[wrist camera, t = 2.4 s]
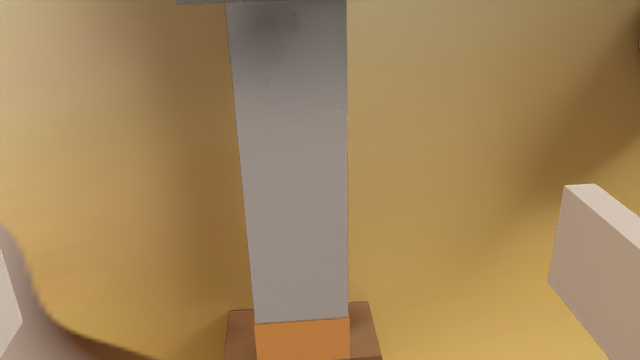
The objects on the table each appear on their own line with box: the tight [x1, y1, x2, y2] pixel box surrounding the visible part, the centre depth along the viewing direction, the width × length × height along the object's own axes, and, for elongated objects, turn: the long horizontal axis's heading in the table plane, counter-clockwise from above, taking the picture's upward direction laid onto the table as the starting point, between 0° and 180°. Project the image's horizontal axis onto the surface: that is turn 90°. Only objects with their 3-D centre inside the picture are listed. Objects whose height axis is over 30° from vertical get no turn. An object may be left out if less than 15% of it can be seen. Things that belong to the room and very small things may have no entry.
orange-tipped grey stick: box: [225, 0, 350, 360], centre depth 19 cm, size 4×25×4 cm, turn 2°
